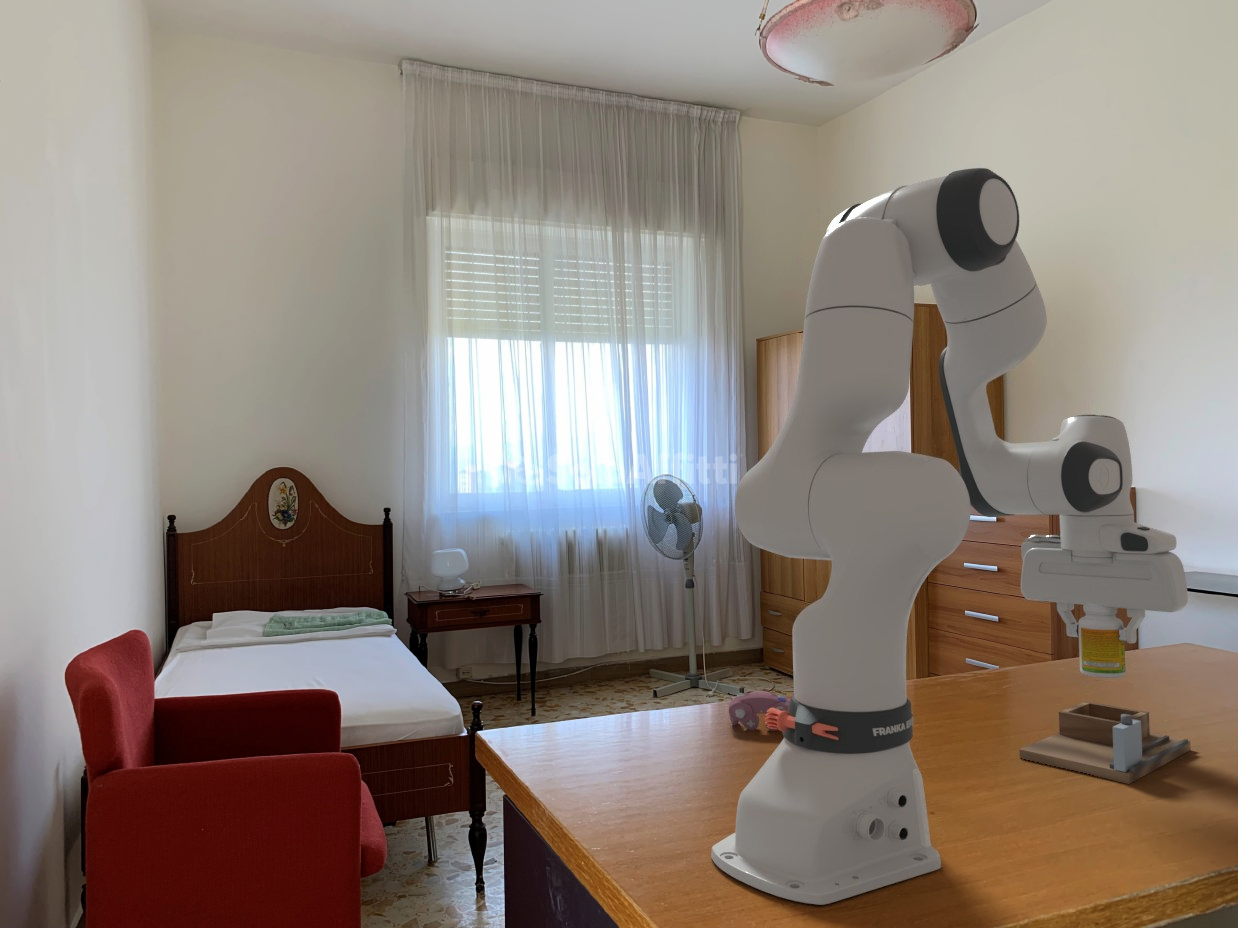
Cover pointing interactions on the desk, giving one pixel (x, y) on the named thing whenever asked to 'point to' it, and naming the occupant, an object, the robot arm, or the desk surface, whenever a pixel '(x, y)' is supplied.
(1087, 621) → the supplement bottle
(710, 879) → the desk surface
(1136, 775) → the board
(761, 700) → the video game controller
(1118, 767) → the cover panel
